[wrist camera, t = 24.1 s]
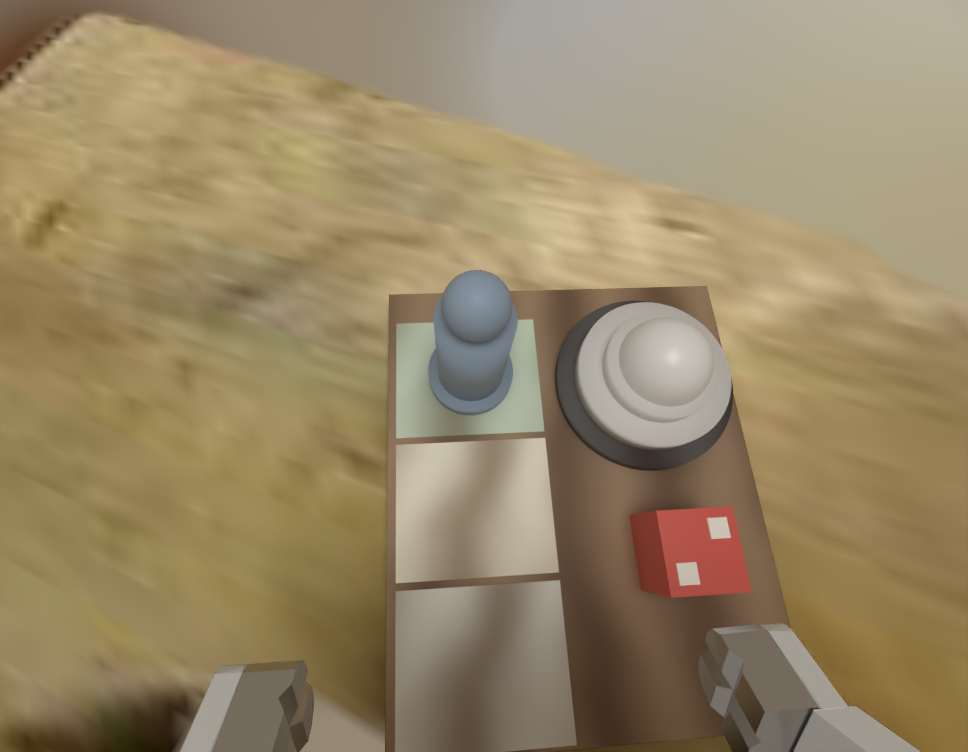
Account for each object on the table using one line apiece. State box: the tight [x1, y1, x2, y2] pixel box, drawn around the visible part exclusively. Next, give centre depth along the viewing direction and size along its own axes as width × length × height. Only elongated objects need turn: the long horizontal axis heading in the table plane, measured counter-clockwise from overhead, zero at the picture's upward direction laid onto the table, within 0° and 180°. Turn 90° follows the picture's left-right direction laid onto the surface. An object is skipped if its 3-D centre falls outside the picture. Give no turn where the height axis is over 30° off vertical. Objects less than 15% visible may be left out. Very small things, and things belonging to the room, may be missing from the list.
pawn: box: [428, 270, 518, 415], centre depth 25 cm, size 5×5×11 cm
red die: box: [630, 506, 752, 598], centre depth 25 cm, size 4×4×4 cm
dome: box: [574, 302, 731, 451], centre depth 27 cm, size 9×9×5 cm
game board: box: [385, 286, 790, 752], centre depth 28 cm, size 22×26×2 cm
